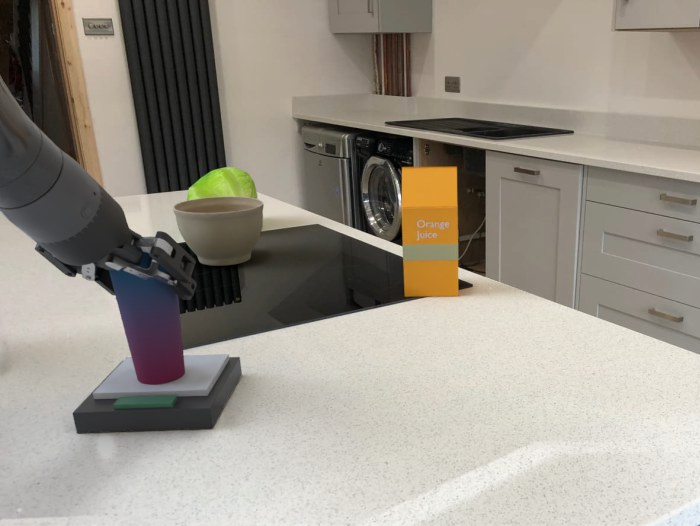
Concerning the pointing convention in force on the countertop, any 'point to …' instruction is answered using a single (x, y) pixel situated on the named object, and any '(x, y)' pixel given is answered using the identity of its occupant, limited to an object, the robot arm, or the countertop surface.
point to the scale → (160, 398)
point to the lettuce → (223, 184)
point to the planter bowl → (220, 228)
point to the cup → (150, 325)
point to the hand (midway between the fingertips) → (154, 290)
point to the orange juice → (430, 231)
